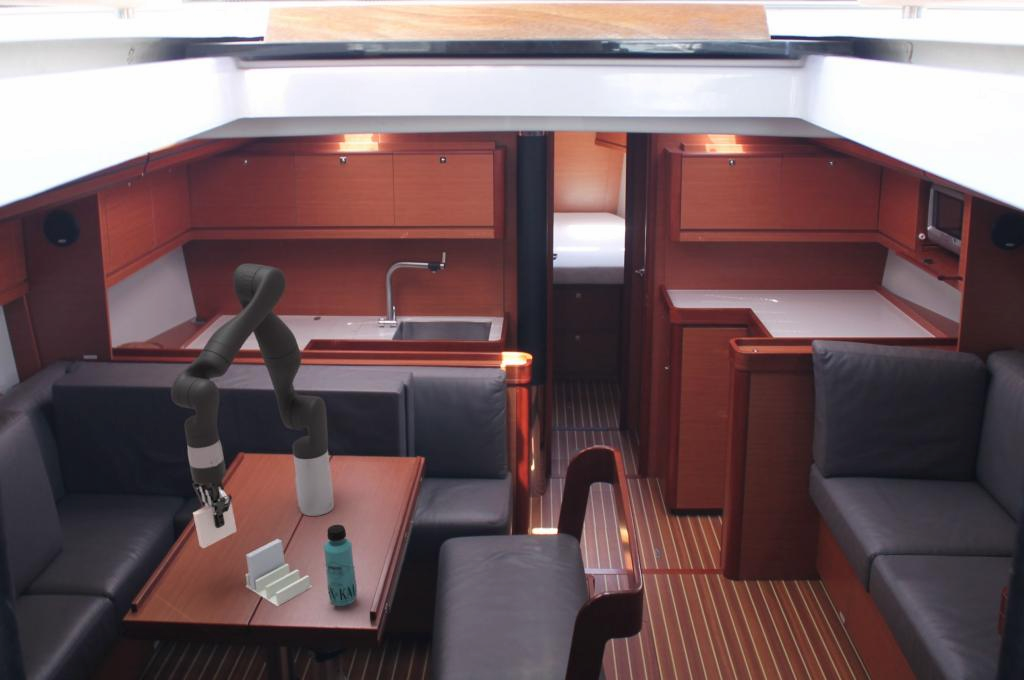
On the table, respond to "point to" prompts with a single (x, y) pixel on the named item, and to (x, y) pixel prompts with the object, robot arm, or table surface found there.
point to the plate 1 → (213, 525)
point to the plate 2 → (265, 560)
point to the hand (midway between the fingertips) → (217, 524)
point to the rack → (280, 585)
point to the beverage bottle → (340, 567)
